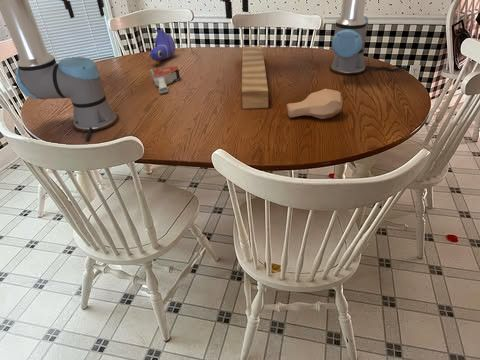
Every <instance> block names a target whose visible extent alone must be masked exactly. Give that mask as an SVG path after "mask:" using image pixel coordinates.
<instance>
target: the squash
mask: <svg viewBox="0 0 480 360" xmlns="http://www.w3.org/2000/svg"><path fill="white" fill-rule="evenodd" d="M343 103H344V99H343V97H342V93H341V91H338V90H334V89H329V88H322V89H321V90H319V91H314V92H311V93H310V94H309V95H307V96H306V98H305V99H303V100H302V101H297V102H291V103H287V104H286V107H285V108H286V111H287V116H288V117H289V118H295V117H300V116H310V117H314V118H318V119H320V120H325V119H331V118H333V117H334V116H336V115H338V114H340V113H341V112H342V108H343V105H344V104H343Z"/></svg>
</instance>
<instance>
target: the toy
mask: <svg viewBox="0 0 480 360" xmlns="http://www.w3.org/2000/svg"><path fill="white" fill-rule="evenodd" d="M153 32H157V34H156V35H155V40H154V47H152V48H150V50H149V54H148V55H149V57H150V58H151V59H152V60H153V61H155V62H156V64H157V66H159V64H160V61H162V60H166V59H168V58H170V57H172V56H173V54H174V53H175V52H176V43H175V42H176V41H175V39H174V38H173V36H172V35H171V34H170V33H167V32H165V31H164V29H162V28H161V29H154V31H153Z"/></svg>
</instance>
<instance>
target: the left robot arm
mask: <svg viewBox="0 0 480 360" xmlns="http://www.w3.org/2000/svg"><path fill="white" fill-rule="evenodd" d="M60 1H62V2H63V5H64V8H65V10H66V11H68V15H69V17H70V19H73V18H75V13H74V10H73V7H72V4H71V0H60ZM96 3H97V6H98V11H99V14H100V17H104V16H105V11H104V8H105V3H104V0H96ZM0 14H1V17H2V19H3V22H4V24H5V26H6V29H7V30H8V33H9V36H10V38H11V41H12V43H13V45H14V48H15V50H16V52H17V55H18V57H19V59H18V60H17V62H16V65H17V68H15V72H14V75H15V82H16V85H17V86H18V89H19V90H20V91H21V92H22V93H23V94H24V95H25V96H26V97H28V98H30V99H33V100H41V101H42V100H53V99H70V101H71V104H72V108H73V114H72V117H73V118H72V119H73V125H74V128H75V129H76V131H78V132H84V133H87V134H86V136H85V138H84V140H85V141H86V142H89V139H90V136H91V134H92V132H99V131H102V130H105V129H107V128H110V127H111V126H113V125H115V124H116V122H117V121H118V116H117V113H116V111H115V110H114V108H113V107H112V105H111V103H110V102H109V101H108V99H107V96H106V92H105V89H104V87H103V86H104V85H103V83H102V79H101V73H100V71H99V69H98V66H97V64H96V62H95V61H94V60H92V59H90V58H88V57H84V56H72V57H65V58H62V59H60V60H59V61H58V63H57V60H56V57H55V56H54V55H53V54H51V53H50V52H48V50H47V47H46V45H45V42H44V39H43V36H42V34H41V31H40V28H39V26H38V23H37V21H36V18H35V16H34V13H33V9H32V6H31V4H30V2H29V0H0Z"/></svg>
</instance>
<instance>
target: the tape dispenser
mask: <svg viewBox="0 0 480 360" xmlns="http://www.w3.org/2000/svg"><path fill="white" fill-rule="evenodd" d="M164 70H166V71H164ZM149 72H150V76H151V78H152V80H153V82H154V85H155V86H156V87H158V93H159V94H166V93H168V92H169V87H168V85H169V84H172V83H173V82H174V81H179V80H180V78H181V76H180V70H179V67H178V66H177V65H174V66H173V65H172V66H166V67H161V68H155V69H154V68H152V69H149Z"/></svg>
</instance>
